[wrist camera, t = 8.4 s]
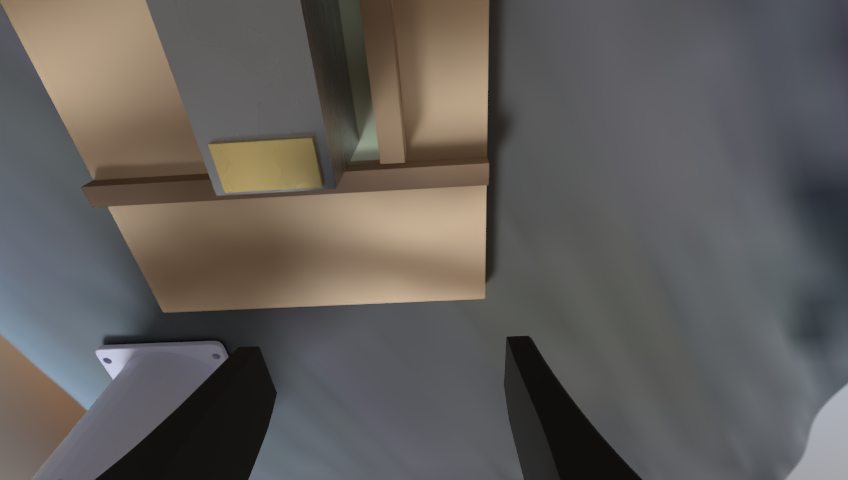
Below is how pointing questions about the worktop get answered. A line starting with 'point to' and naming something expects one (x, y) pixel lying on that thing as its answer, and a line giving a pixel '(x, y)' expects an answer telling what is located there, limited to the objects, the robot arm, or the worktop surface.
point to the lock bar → (263, 90)
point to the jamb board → (284, 211)
